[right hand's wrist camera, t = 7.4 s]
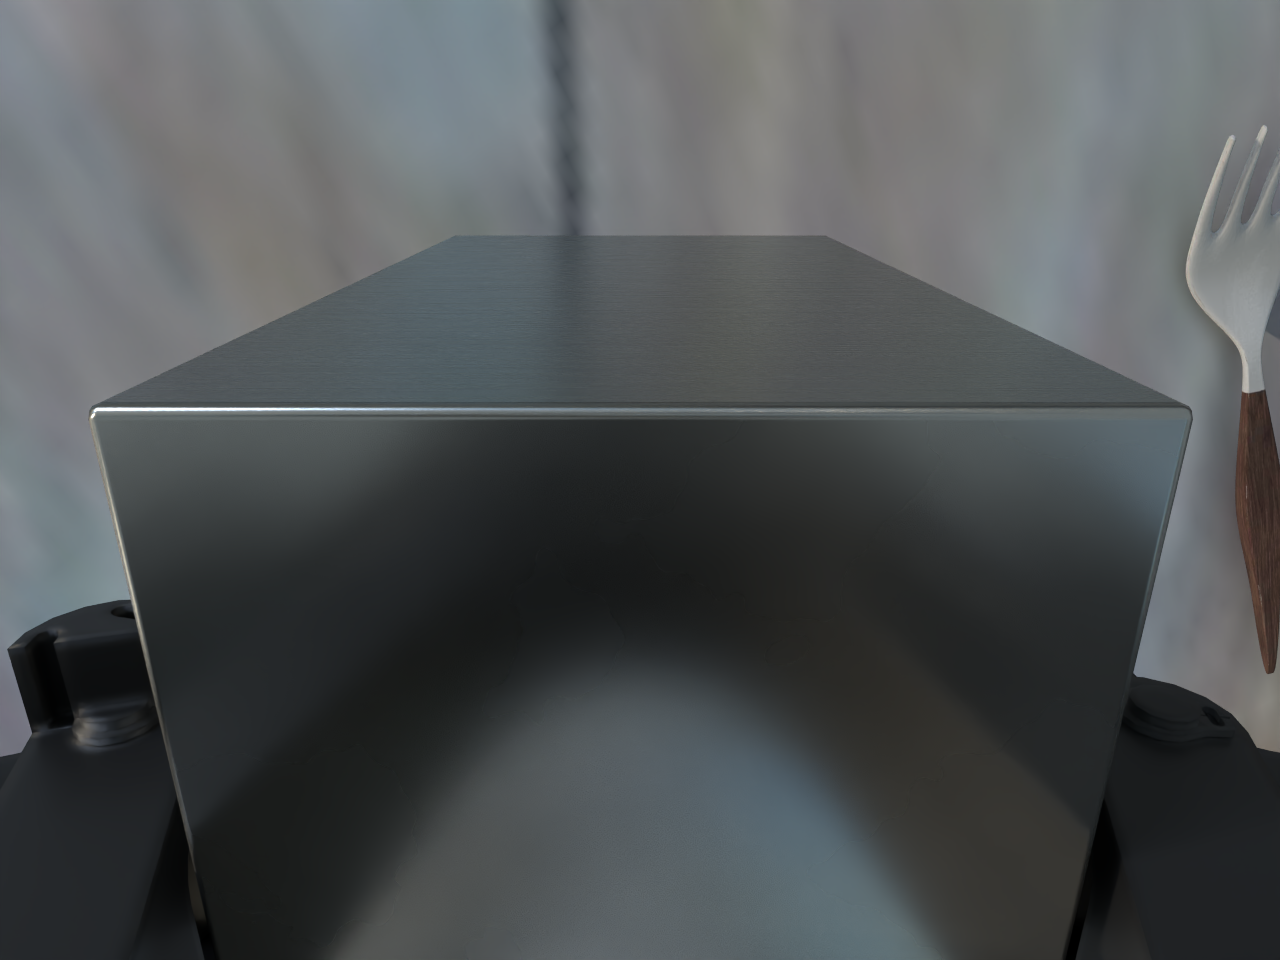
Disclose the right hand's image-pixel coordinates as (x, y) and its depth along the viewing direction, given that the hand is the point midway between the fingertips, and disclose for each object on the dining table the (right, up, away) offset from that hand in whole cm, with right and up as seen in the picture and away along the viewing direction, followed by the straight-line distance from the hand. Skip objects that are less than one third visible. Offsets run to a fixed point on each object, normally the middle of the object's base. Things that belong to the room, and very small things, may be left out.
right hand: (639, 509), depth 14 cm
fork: (+17, +2, +10) cm, 20 cm away
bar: (0, -8, +3) cm, 8 cm away
